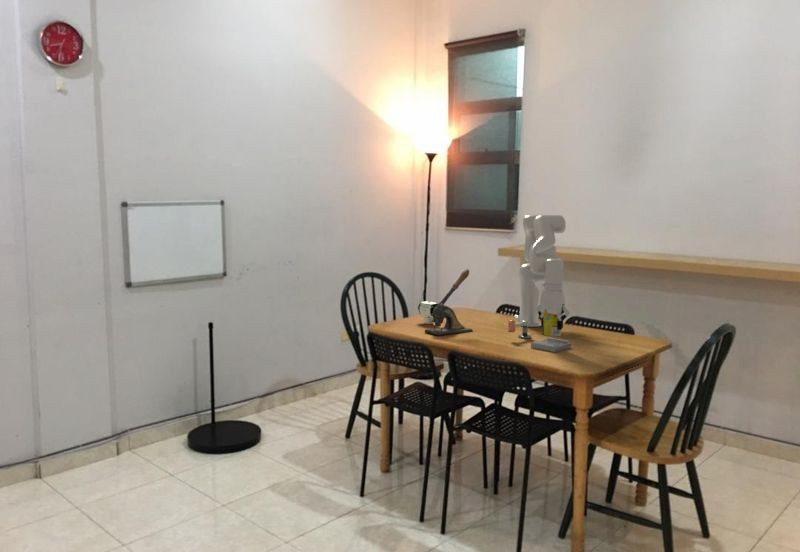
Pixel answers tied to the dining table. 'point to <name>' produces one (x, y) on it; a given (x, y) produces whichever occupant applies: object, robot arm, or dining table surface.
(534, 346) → the plate
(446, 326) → the embossing press
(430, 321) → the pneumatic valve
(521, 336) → the lever post
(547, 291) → the robot arm
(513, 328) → the press lever
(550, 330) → the crayon box
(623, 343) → the dining table surface
